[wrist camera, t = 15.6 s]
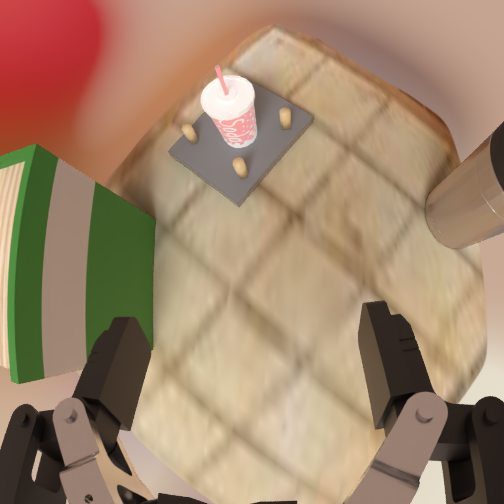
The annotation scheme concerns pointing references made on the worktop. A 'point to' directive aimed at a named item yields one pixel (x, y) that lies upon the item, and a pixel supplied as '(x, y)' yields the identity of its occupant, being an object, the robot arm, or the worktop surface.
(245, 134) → the beverage cup
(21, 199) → the hardback book
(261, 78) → the worktop surface
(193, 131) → the chassis
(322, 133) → the worktop surface
